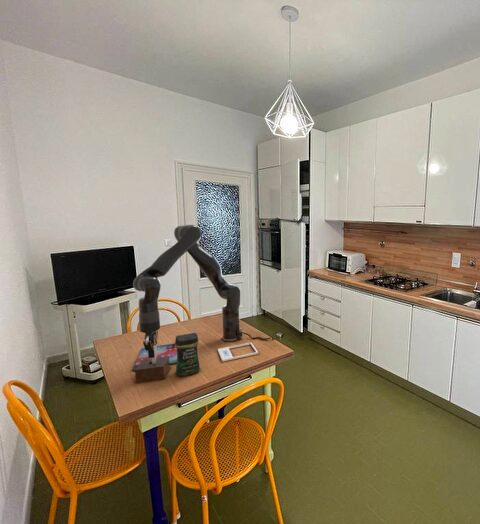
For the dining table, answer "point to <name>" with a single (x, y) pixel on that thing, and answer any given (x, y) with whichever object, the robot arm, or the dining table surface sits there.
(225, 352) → the photo frame
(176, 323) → the dining table surface
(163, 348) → the tablet
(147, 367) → the holder
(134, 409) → the dining table surface
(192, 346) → the coffee jar
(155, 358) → the stylus
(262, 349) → the dining table surface
